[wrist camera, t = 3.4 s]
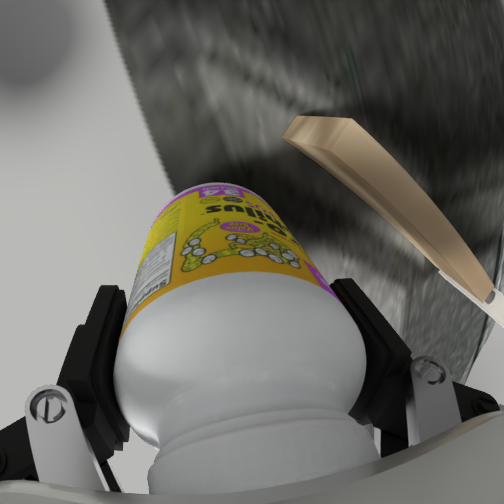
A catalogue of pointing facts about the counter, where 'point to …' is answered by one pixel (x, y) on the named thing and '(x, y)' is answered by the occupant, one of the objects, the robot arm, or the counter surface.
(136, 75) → the counter surface
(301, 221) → the counter surface
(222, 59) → the counter surface
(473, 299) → the gate post
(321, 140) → the wooden plank
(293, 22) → the counter surface
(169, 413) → the supplement bottle
